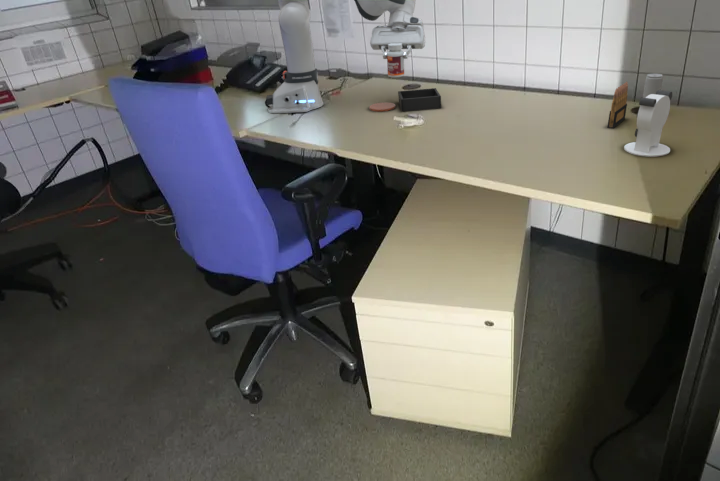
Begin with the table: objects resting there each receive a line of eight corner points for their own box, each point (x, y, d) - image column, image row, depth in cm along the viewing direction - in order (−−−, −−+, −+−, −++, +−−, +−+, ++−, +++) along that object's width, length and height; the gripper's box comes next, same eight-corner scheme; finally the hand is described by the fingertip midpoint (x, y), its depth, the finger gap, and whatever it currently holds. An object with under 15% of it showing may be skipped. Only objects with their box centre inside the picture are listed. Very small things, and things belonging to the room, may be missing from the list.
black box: (401, 111, 203) (401, 99, 201) (398, 102, 214) (398, 91, 212) (441, 108, 203) (440, 96, 200) (435, 99, 214) (435, 88, 212)
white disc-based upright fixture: (636, 139, 158) (645, 87, 151) (678, 147, 150) (689, 92, 143) (616, 150, 152) (624, 96, 144) (658, 159, 144) (669, 102, 137)
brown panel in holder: (618, 118, 176) (624, 80, 170) (624, 119, 175) (630, 81, 169) (607, 127, 169) (612, 88, 163) (613, 128, 168) (619, 89, 162)
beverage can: (641, 114, 177) (648, 77, 172) (638, 110, 181) (645, 73, 176) (658, 114, 176) (665, 76, 170) (654, 110, 180) (661, 73, 175)
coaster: (370, 112, 205) (369, 110, 205) (368, 105, 214) (368, 103, 213) (396, 110, 205) (396, 108, 204) (394, 103, 214) (394, 101, 213)
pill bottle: (385, 77, 202) (384, 45, 196) (390, 74, 207) (389, 42, 201) (401, 77, 200) (400, 45, 194) (406, 74, 205) (405, 42, 199)
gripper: (371, 20, 203) (365, 53, 200) (425, 18, 197) (421, 52, 194) (375, 31, 209) (369, 63, 205) (428, 30, 203) (423, 62, 200)
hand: (395, 57), depth 200 cm, fingers closed on pill bottle, 6 cm apart
